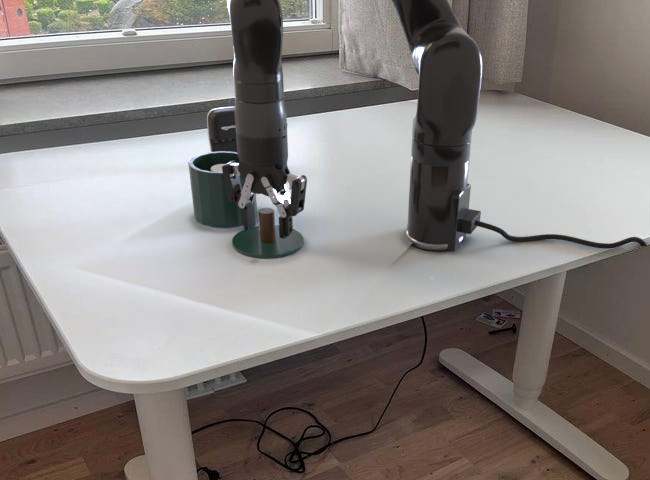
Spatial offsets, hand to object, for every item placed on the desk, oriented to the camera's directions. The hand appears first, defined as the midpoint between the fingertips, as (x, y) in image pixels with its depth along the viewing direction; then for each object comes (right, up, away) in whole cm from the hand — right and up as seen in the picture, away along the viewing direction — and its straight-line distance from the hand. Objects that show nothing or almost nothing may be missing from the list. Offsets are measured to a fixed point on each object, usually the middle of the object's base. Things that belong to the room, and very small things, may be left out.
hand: (267, 232), depth 124 cm
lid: (0, -1, +1) cm, 2 cm away
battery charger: (-12, +18, +30) cm, 37 cm away
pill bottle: (-9, +4, +10) cm, 14 cm away
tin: (-9, +4, +10) cm, 14 cm away
